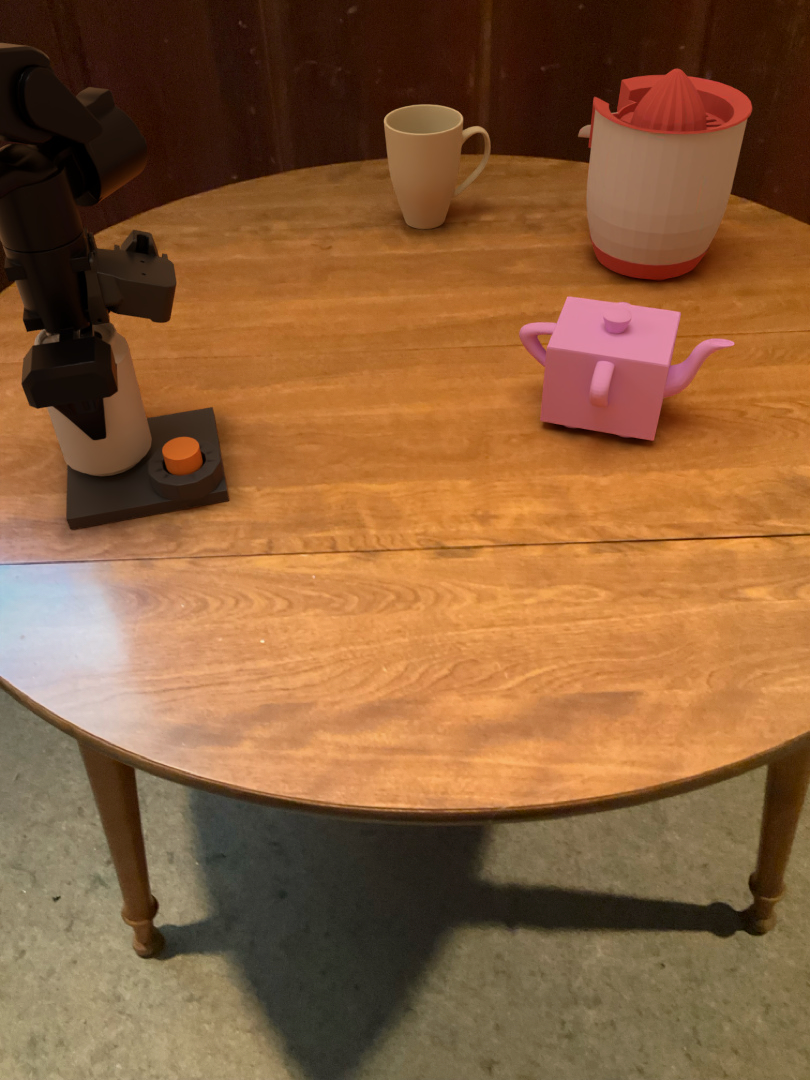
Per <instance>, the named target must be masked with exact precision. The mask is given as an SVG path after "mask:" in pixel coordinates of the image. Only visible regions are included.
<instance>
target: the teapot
mask: <svg viewBox="0 0 810 1080" xmlns="http://www.w3.org/2000/svg"><path fill="white" fill-rule="evenodd" d="M681 316H682V313H681V311H676V310H669V309H663V308H657V307H656V308H655V307H650V306H649V307H648V306H643V305H634V304H631V303H629V302H626V301H619V302H614V301H605V300H598V299H592V298H584V297H578V296H567V297H566V299H565V302H564V304H563V306H562V309H561V312H560V314H559V316H558V319H557V321H556V322H550V321H549V322H548V321H539V322H537V321H536V322H528V323H527V324H524V325H523V326H522V327H521V328H520V330H519V332H518V337H519V339H520V342H521V344H522V346H523V347H524V349H525V350H526V351H527V352H528V353H529V354H530V355H531V356H532V358H533V359H535V361H536V362H538V363H539V364H540V365H541V366H542V367H543V368H544V373H543V385H542V395H541V406H540V416H539V421H540V422H544V423H549V424H556V425H561V426H564V427H566V428H569V429H584V430H589V431H595V432H600V433H606V434H613V435H617V436H618V437H621V438H627V439H628V438H636V439H642V440H647V441H652V442H653V441H655V437H656V432H657V430H658V429H657V428H658V425H659V419H660V414H661V412H662V411H661V410H662V406H663V403H664V399H666V398H670V397H673V396H676V395H678V394H680V393H682V392H683V391H685V390H686V389H687V387H688V386H689V385H690V384H691V383H692V382H693V380H694V379H695V377H696V375H697V374H698V372H699V370H700V369H701V367H702V366H703V364H704V363H705V361H706V360H708V358H709V357H710V356H711V355H712V354H714V353H715V352H717V351H719V350H720V351H721V350H723V349H727V348H731V347H733V346H734V345H735V342H734V341H733V340H730V339H726V338H707V339H705V340H703V341H701V342H700V343H698V344H697V345H695V347H694V348H693V350H692V351H691V352H690V354H689V355H688V357H687V358H686V359H684V360H683V361H682V362H680V363H675V364H672V361H673V357H674V356H673V355H674V352H675V345H676V341H677V336H678V331H679V326H680V321H681ZM541 335H547V336H550V339H549V342H548V344H547V346H546V349H545V347H544V346H543V345H542V343H541V341H540V340H539V336H541Z"/></svg>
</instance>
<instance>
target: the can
mask: <svg viewBox="0 0 810 1080" xmlns="http://www.w3.org/2000/svg"><path fill="white" fill-rule="evenodd" d="M79 334H80V330H79ZM94 336H96V337H97V338H99V339H101V340H103V341H105V342H106V343H108V344H110V345H111V347H112V351H113V354H114V358H115V363H117V378H118V392H116V393H115V394H114V395H112V396H111V397H107V398H104V410H105V422H106V436H107V437H106V438H105V439H101V440H92V439H91V438H90V437H89V436H87V435H86V434H85V433H84V432H83V431H82V430H80V429H79V428H78V427H77V426H76V425H75V424H74V423H72V422H71V421H70V420H69V419H68V418H67V417H65V416H64V415H63V414H62V413H61V412H59V411H58V410H57V409H55V408H54V407H46V409H47V412H48V415H49V417H50V422H51V424H52V427H53V430H54V433H55V436H56V439H57V442H58V444H59V448H60V451H61V454H62V456H63V459H64V462H65V463H66V465H67V464H68V465H69V466H70V467H71V468H72V469H74V470H77V471H79V472H82V473H87V474H89V475H94V476H111V475H115V474H119V473H122V472H125V471H127V470H129V469H131V468H132V467H134V466H135V465H136V464H137V463H138V462H140V460H141V459H142V458H143V457H144V456H145V455H146V454H147V452H148V451H149V449H150V447H151V441H152V438H151V433H150V429H149V425H148V421H147V418H148V417H147V413H146V409H145V405H144V402H143V398H142V394H141V393H142V392H141V389H140V386H139V382H138V378H137V374H136V369H135V365H134V361H133V358H132V354H131V349H130V346H129V345H130V344H129V342H128V341H127V340H126V338H125V337H124V336H123V335H122V334H120V333H119V332H117V329H116V327H115V324H113V323H112V322H110V323H104V324H98V325H94ZM79 337H80V335H79ZM52 342H59V334H58V335H54V336H47V334H46V331H45V329H43V330H40V331H39V333H38V334H37V335H36V336H35V338H34V342H33V345H39V344H46V343H52Z"/></svg>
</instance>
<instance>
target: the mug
mask: <svg viewBox="0 0 810 1080" xmlns="http://www.w3.org/2000/svg"><path fill="white" fill-rule="evenodd" d="M461 113H462V112H459V111H458V110H457V109H454V108H453V107H449V106H445V105H439V104H412V105H407V106H402V107H398V108H396V109H394V110H391V111H390V112H389V113H387V114H386V115H385V117H384V119H383V126H384V137H385V145H386V154H387V162H388V163H387V164H388V170H389V176H390V180H391V184H392V187H393V191H394V194H395V197H396V199H397V202H398V206H399V208H400V211H401V213H402V216H403V219H404V223H405V224H406V225H407V226H409V227H411V228H414V229H419V230H430V229H434V228H435V229H436V228H437V227H440V226H441V225H443V224H444V223H445V221H446V217H447V214H448V212H449V208H450V205H451V202H452V199H455V198H456V197H458V196H459V195H461V194H462V193H463V192H464V191H465V190H466V189H467V188H468V187H469V186H470V185H471V184H472V183H473V182H474V181H476V179H477V178H478V177H479V176H480V175H481V173H483V171H484V169H485V168H486V167H487V165H488V162H489V160H490V158H491V157H490V156H491V149H492V148H491V139H490V135H489V133H488V132H487V130H486V129H485V128H483V127H482V126H479V125H475V126H469V127H467V128H465V129H463V128H464V116H463V115H462V114H461ZM476 134H481V135H482V137H483V140H484V151H483V156H482V159H481V160H480V162H479V164H478V165H477V166H476V168H475V169H474V170H473V171H472V172H471V173H470V174H469V175H468V177H466V179H464V180H463V182H461V183H460V184H459V186H457V183H458V177H459V173H460V164H461V155H462V148H463V147H462V146H463V145H464V144H465V142H466V141H467V140H469V138H470V137H472V136H474V135H476Z"/></svg>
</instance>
